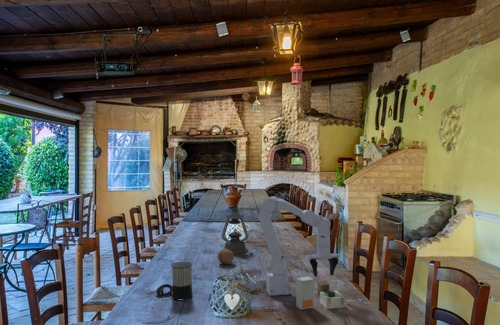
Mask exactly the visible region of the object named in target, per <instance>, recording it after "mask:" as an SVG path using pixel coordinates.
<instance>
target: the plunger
mask: <svg viewBox="0 0 500 325" xmlns="http://www.w3.org/2000/svg"><path fill="white" fill-rule="evenodd" d="M335 291H336V290H332V291H331V290H330V291H323V292H324V293H326V294H327V295H328V297H330V298H331V297H335Z"/></svg>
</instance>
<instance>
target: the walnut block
mask: <svg viewBox="0 0 500 325" xmlns="http://www.w3.org/2000/svg"><path fill="white" fill-rule="evenodd" d="M330 287H331V285H330V283H329V282H327V281H317V296H318V297H319V298H320V292H323V291H331V290H330Z"/></svg>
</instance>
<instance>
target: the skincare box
mask: <svg viewBox="0 0 500 325" xmlns="http://www.w3.org/2000/svg"><path fill="white" fill-rule="evenodd" d="M295 279H296V290H295V291H296V295H295V298H296V300H295V301H296V303H295V304H296V305H295V306H296V307H297V309H299V310H307V309H313V308H314V283H315V282H314V278H312V277H311V276H302V277H297V278H295Z"/></svg>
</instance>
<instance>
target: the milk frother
mask: <svg viewBox="0 0 500 325" xmlns="http://www.w3.org/2000/svg"><path fill="white" fill-rule="evenodd" d="M192 266H193V263H192V262H190V261H177V262H173V263H172V264H171V267H172V268H171V269H172V272H171V273H172V285H171V284H169V283H165V284H164V283H163V284H162V285H159V286H158V288H157V289H156V291H155V292H156V296H160V297H167V296H170V295H171V294H172V295H171V298H172V299H173V298H174V299H187V300H189V299H188V298H190V299H192V298H191V297H193V287H192V286H193V281H192V279H193V278H192V277H193V275H192V272H193V271H192ZM165 288H168V289H169V291H168V292H166V293H165V292H164V289H165ZM174 299H173V300H174Z"/></svg>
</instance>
